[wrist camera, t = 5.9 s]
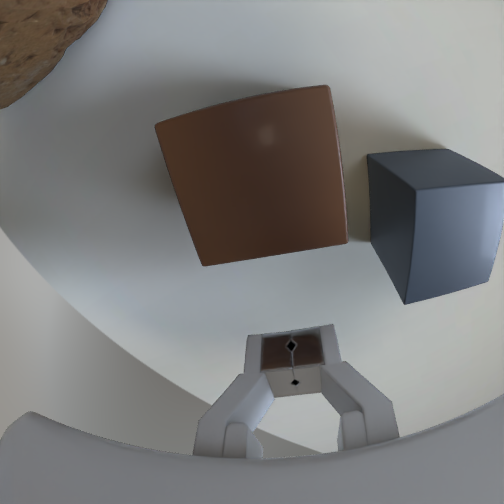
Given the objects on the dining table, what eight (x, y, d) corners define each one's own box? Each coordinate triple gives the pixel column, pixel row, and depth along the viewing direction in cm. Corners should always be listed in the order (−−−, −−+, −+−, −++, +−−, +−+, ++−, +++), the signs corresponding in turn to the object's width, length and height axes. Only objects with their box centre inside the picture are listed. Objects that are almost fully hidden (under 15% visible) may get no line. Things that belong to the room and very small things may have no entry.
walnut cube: (222, 209, 12) (201, 268, 8) (195, 112, 10) (152, 124, 6) (323, 191, 11) (349, 244, 8) (305, 89, 9) (330, 84, 5)
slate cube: (370, 243, 12) (403, 305, 9) (366, 154, 10) (415, 189, 6) (443, 230, 12) (488, 282, 8) (448, 148, 9) (510, 181, 6)
